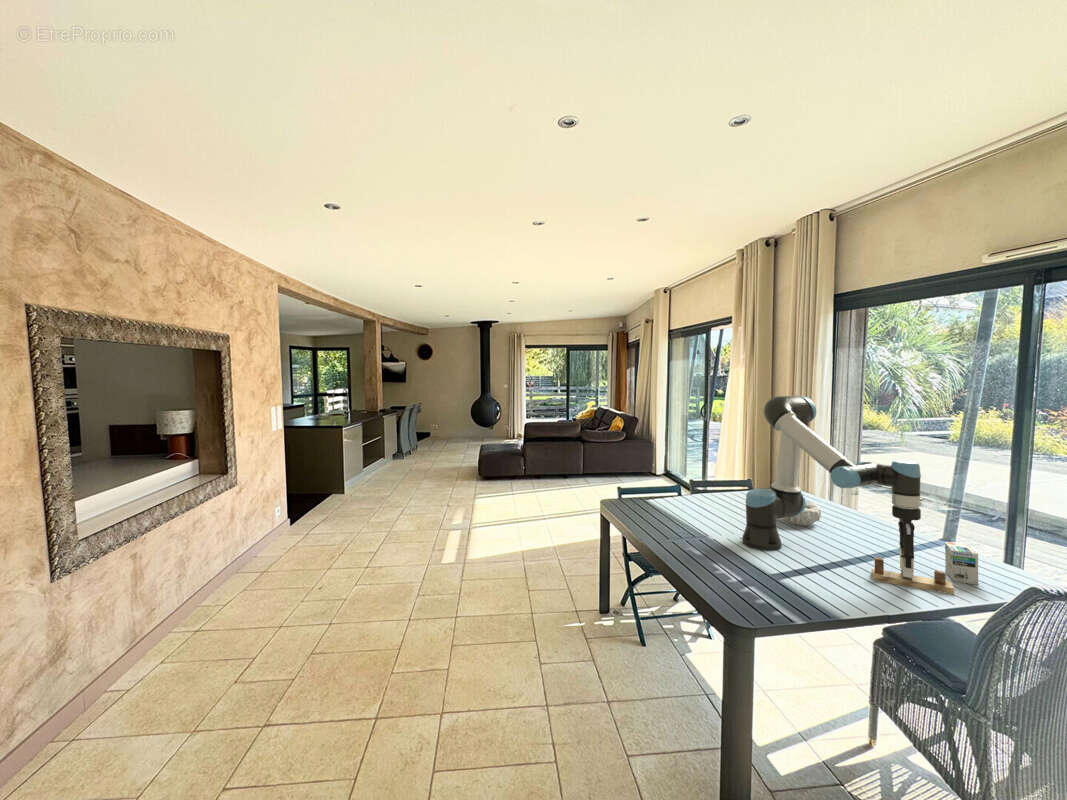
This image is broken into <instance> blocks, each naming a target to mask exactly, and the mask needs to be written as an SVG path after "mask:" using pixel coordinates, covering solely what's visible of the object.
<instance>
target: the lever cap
mask: <svg viewBox="0 0 1067 800" xmlns="http://www.w3.org/2000/svg"><path fill="white" fill-rule="evenodd" d="M901 555H902V556H903V548H901V547H900V546H899V567H900V566H901V568H900V570H901V569H902V571H903V557H901ZM914 559H915V558H914ZM914 559H913V574H914V573H915V572H914V571H915V570H914V568H915V567H914V566H915V565H914V563H915V562H914V561H915V560H914Z"/></svg>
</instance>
